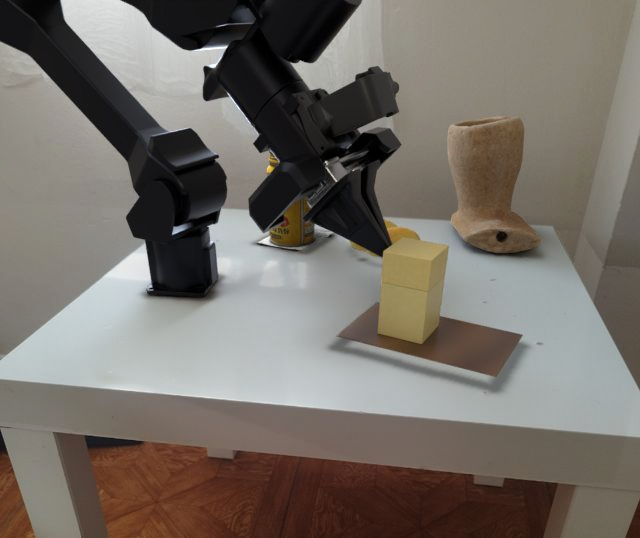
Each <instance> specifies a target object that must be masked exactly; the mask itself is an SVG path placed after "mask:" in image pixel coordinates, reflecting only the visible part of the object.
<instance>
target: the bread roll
mask: <svg viewBox="0 0 640 538" xmlns="http://www.w3.org/2000/svg"><path fill="white" fill-rule="evenodd" d="M383 219H384V222H385V225H386V227H387V230H388V233H389V236H390V239H391V242H392V245H393V244H394V243H396V242H397V241H398V240H400V239H401V238H403V237H405V238H410V239H416V240H421V238H420V236H419V234H418V233H417V232H416V231H415V230H413V229H411V228H407V227H403V226H398V225H397V224H395V223H394V222H393V221H390V220H388V219H385V218H383ZM349 244H350V246H351V247H352V248H353V249H355V250H358V251H362V252H367V253H368V254H369V255H371V256H374V257H378V258H379V257H380V256H378V255H376V254H374V253H372V252H370V251H369V250H367V249H365V248H363V247H361V246H359V245H357V244H355V243H353V242H352V241H350V240H349ZM380 258H381V257H380Z"/></svg>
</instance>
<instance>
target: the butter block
mask: <svg viewBox="0 0 640 538" xmlns="http://www.w3.org/2000/svg"><path fill="white" fill-rule="evenodd" d="M445 278H446V275H445V276H444V277H443V278H442V279H441V280H440V281H439V282H438V283H437V284H436V285H434V286H433V287H432V288H431V289H430V290H429V291H428V292H426V291H422V290H417V289H412V288H407V287H403V286H398V285H393V284H388V283H384V282H381V281H380V293H379V302H380V306H379V320H378V334H382V335H386V336H390V337H394V338H398V339H402V340H406V341H410V342H414V343H418V344H422V343H423V342H424V341H425V340H426V339H427V338H428V337H429V336H430V335H431V334H432V332H433V331H434V330H435V329H436V328H437V327H438V325H439V318H440V316H441V311H442V304H443V303H442V302H443V294H444V288H445V281H446V280H445Z"/></svg>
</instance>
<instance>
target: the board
mask: <svg viewBox="0 0 640 538" xmlns="http://www.w3.org/2000/svg"><path fill="white" fill-rule="evenodd" d="M379 306H380V301H375V302H374V303H373V304H372V305H370V306H369V307H368V308H367V309H366V310H365V311H363V313H361V314H360V315H358V316H357V318H355V319H354V320H353V321H352V322H351V323H349V324H348V325H347V326H345V328H344V329H342V330H341V331H340V332H339V333H338V334H336V337H337V338H342V339H345V340H350V341H354V342H357V343H360V344H361V343H362V344H364V345H369V346H372V347H377V348H381V349H384V350H389V351H392V352H396V353H400V354H404V355H407V356H412V357H415V358H420V359H422V360H423V359H424V360H427V361H432V362H435V363H439V364H443V365H447V366H450V367H455V368H458V369H463V370H466V371H470V372H474V373H478V374H483V375H485V376H490V377H493V378H497V377H498V376H499V374H500V372H501V371H502V370H503V368H504V366H505V364H506V363H507V362H508V360H509V358H510V356H511V355H512V353H513V352H514V350H515V349H516V347H517V346H518V344H519V342H520V340H522V338H523V334H522V333H517V332H513V331H508V330H504V329H499V328H495V327H491V326H487V325H482V324H477V323H472V322H469V321H464V320H460V319H459V320H458V319H455V318H450V317H446V316H442V315H440V318H439V325H438V327H437V328H436V329H435V330H434V331H433V332H432V334H431V335H430V336H429V337H428V338H427V339H426V340H425V341H424V342H423V343H422V344H418V343H414V342H410V341H406V340H402V339H398V338H394V337H390V336H386V335H382V334H378V320H379Z"/></svg>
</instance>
